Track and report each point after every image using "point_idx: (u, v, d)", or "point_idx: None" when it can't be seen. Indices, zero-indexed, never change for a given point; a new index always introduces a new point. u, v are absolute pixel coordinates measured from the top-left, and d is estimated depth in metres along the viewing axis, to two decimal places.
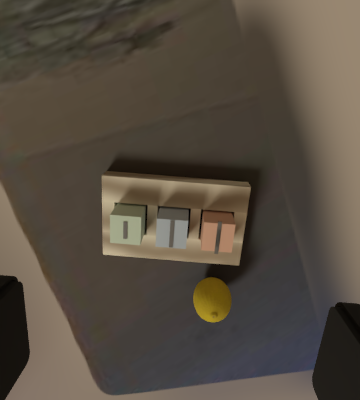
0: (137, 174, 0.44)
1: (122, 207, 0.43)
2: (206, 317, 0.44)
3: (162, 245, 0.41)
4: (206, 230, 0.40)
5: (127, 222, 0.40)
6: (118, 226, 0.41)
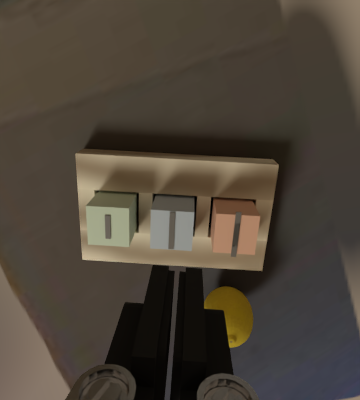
0: (124, 152, 0.33)
1: (104, 196, 0.32)
2: None
3: (159, 246, 0.30)
4: (219, 224, 0.29)
5: (110, 215, 0.29)
6: (97, 221, 0.30)
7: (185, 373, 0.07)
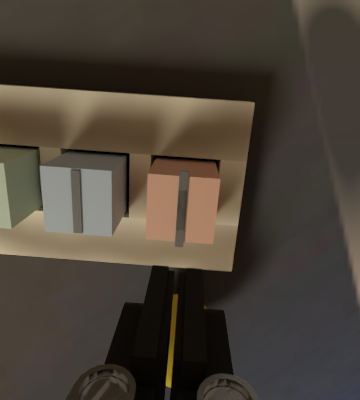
0: (19, 85, 0.21)
1: None
2: None
3: (59, 229, 0.19)
4: (154, 193, 0.18)
5: None
6: None
7: (185, 373, 0.07)
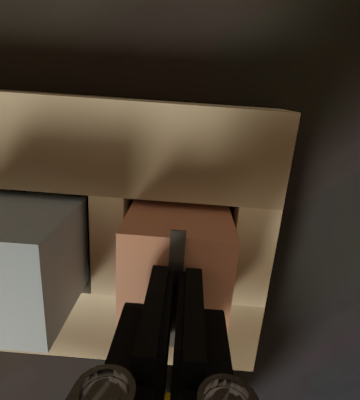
0: None
1: None
2: None
3: None
4: (128, 264, 0.10)
5: None
6: None
7: (185, 373, 0.07)
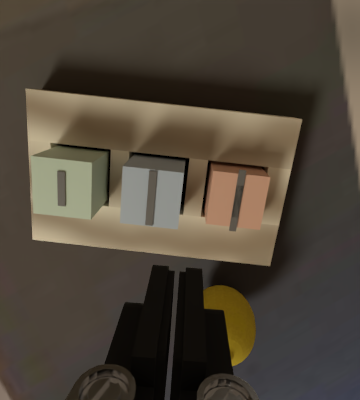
0: (94, 95, 0.24)
1: (63, 150, 0.23)
2: None
3: (133, 221, 0.22)
4: (217, 186, 0.22)
5: (65, 172, 0.21)
6: (47, 180, 0.21)
7: (185, 373, 0.07)
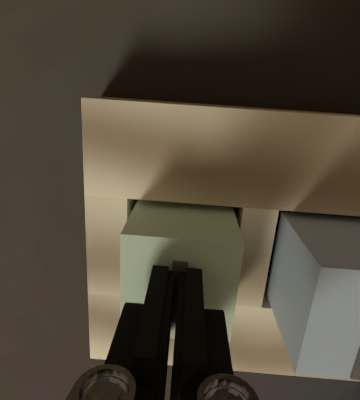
0: (203, 104, 0.13)
1: (160, 206, 0.13)
2: None
3: (324, 371, 0.10)
4: None
5: (187, 263, 0.10)
6: None
7: (185, 373, 0.07)
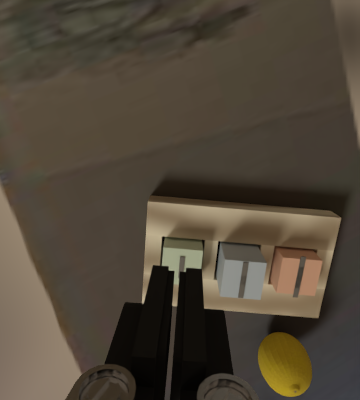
0: (190, 200, 0.34)
1: (174, 237, 0.34)
2: (284, 391, 0.33)
3: (229, 295, 0.31)
4: (285, 267, 0.32)
5: (184, 257, 0.32)
6: (172, 262, 0.32)
7: (185, 373, 0.07)
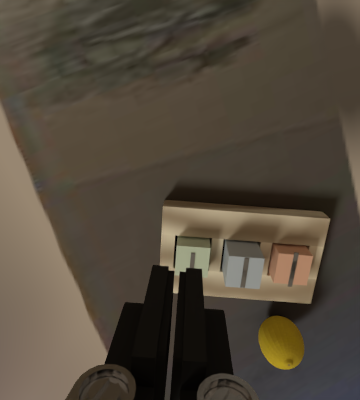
0: (199, 204, 0.40)
1: (185, 236, 0.40)
2: (279, 365, 0.39)
3: (233, 285, 0.37)
4: (281, 261, 0.37)
5: (195, 253, 0.37)
6: (184, 257, 0.38)
7: (185, 373, 0.07)
